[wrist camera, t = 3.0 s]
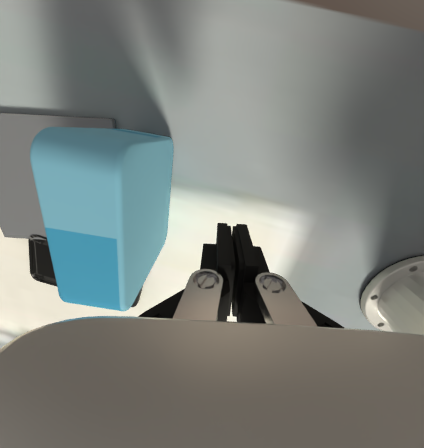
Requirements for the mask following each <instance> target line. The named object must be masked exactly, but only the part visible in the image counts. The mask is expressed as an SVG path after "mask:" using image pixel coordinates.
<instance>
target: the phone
mask: <svg viewBox="0 0 424 448" xmlns="http://www.w3.org/2000/svg"><path fill="white" fill-rule="evenodd" d="M34 237H39V238H43V239H46V240H42V239H33V238H34ZM29 258H30V274H31V276H32V277H33V278H34V279H35V280H37V281H40V282H43V283H47V284H50V285H54V286H57V282H56V278H55V273H54V269H53V264H52V259H51V255H50V250H49V245H48V241H47V238H46V237H43V236H40V235H32V236H30V237H29ZM142 287H143V286H142ZM142 287H141V289H140V291H139V293H138V295H137V297H136V299H135V301H134V303H133V304H132V306H131V307H134V306H136V305H137V303H138V301H139V298H140V295H141V291H142Z"/></svg>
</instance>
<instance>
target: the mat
mask: <svg viewBox="0 0 424 448" xmlns="http://www.w3.org/2000/svg"><path fill="white" fill-rule="evenodd" d="M47 127H77V128H108V129H116V126H115V119H105V118H86V117H67V116H48V115H29V114H10V113H0V227H1V229H2V232H3V234H4V236H5V237H12V238H27V239H29V237H30V236H32V235H40V236H43V237H46V238H47V236H46V231H45V227H44V222H43V217H42V213H41V208H40V204H39V199H38V194H37V190H36V185H35V180H34V176H33V171H32V166H31V161H30V148H31V144H32V141H33V139H34V137H35V136H36V135H37V134H38V132H40V131H41V130H42V129H45V128H47ZM33 239H42V240H46V239H43V238H39V237H34V238H33Z"/></svg>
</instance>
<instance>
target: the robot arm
mask: <svg viewBox="0 0 424 448" xmlns="http://www.w3.org/2000/svg"><path fill="white" fill-rule="evenodd" d="M231 302H232V314H233V316H237V322H228V321H227V316H230V309H231ZM361 310H362V313H363V314H364V316H365V317H366V319H367V320H368V321H369V322H370V323H371V324H372V325H373V326H374V327H376V328H378V329H380V330H383V331H376V330H361V329H346V328H344V327H342V326H341V325H339V324H338V323H336V322H335V321H333V320H331V319H330V318H328V317H326V316H325V315H323V314H322V313H320V312H318V311H317V310H315V309H313V308H312V307H310V306H308V305H307V304H305V303H303V302H302V301H300V299H299V298H298V296H297V295H296V293H295V292H294V290H293V289H292V287H291V286H290V284H289V283H288V282H287V280H286V279H284V278H283V277H282V276H280V275H278V274H275V273H270V272H269V269H268V267H267V264H266V261H265V258H264V256H263V253H262V250H261V248H260V247H255V246H253V245H252V241H251V238H250V235H249V231H248V228H247V225H245V224H237V226H233V231H232V234H231V226H227V224H226V223H218V226H217V241H216V244H203V252H202V260H201V267H200V270H198V271H195V272H194V273H192V275H191V276H190V278H189V280H188V283H187V285H186V288H185V289H183V290H182V291H180V292H178V293H177V294H175V295H173V296H171V297H170V298H168V299H166V300H164V301H163V302H161V303H159V304H158V305H156V306H154V307H152V308H151V309H149V310H147V311H145V312H144V313H142V314H141V315H140V316H139V317H118V316H97V317H82V318H76V319H69V320H64V321H60V322H56V323H52V324H48V325H45V326H42V327H39V328H36V329H33V330H31V331H28V332H26V333H24V334H22V335H20V336H18V337H16V338H15V339H13V340H12V341H10V342H9V343H7V344H6V345H5V346H3V347H2V348H1V349H0V448H424V256H418V257H414V258H409V259H406V260H403V261H401V262H398V263H396V264H394V265H392V266H390V267H388V268H386V269H385V270H383V271H382V272H380V273H379V274H378V275H377V276H376V277H374V278H373V279H372V280H371V282H370V283H369V284H368V285H367V287H366V288H365V290H364V292H363V294H362V298H361Z"/></svg>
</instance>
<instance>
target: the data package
mask: <svg viewBox="0 0 424 448" xmlns="http://www.w3.org/2000/svg"><path fill="white" fill-rule="evenodd" d="M30 161H31V166H32V171H33V176H34V180H35V185H36V190H37V194H38V199H39V204H40V208H41V213H42V217H43V222H44V227H45V231H46V236H47V241H48V245H49V250H50V255H51V259H52V264H53V269H54V273H55V278H56V282H57V287H58V292H59V296H60V298H61V299H62V300H63V301H64V302H68V303H74V304H81V305H87V306H93V307H100V308H106V309H113V310H119V311H126V310H128V309H129V308H130V307H131V306H132V304H133V303H134V301H135V299H136V297H137V295H138V293H139V291H140V289H141V287H142V286H143V284H144V282H145V280H146V278H147V276H148V274H149V272H150V270H151V268H152V266H153V264H154V263H155V261H156V259H157V257H158V255H159V253H160V251H161V249H162V247H163V245H164V243H165V240H166V236H167V229H168V216H169V203H170V190H171V177H172V164H173V141H172V139H171V138H170V137H167V136H161V135H156V134H150V133H145V132H139V131H133V130H128V129H108V128H77V127H47V128H45V129H42V130H41V131H40V132H38V134H37V135H36V136H35V137H34V139H33V141H32V144H31V148H30Z"/></svg>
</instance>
